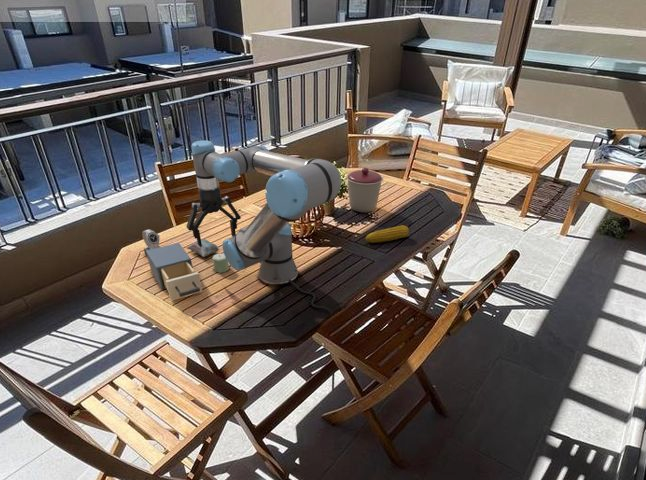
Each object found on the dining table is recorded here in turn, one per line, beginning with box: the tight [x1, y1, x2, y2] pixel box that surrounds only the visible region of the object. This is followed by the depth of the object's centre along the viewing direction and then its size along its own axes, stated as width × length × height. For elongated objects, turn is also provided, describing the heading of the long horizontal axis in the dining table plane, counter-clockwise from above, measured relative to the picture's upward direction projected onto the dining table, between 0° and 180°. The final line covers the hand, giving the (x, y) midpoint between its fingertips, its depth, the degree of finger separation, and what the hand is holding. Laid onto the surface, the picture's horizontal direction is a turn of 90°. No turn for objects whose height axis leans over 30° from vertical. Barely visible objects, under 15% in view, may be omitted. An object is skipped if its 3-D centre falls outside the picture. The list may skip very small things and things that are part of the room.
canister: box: [346, 167, 384, 213], centre depth 223 cm, size 18×18×21 cm
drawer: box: [159, 262, 203, 301], centre depth 161 cm, size 20×11×8 cm, turn 33°
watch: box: [142, 228, 161, 257], centre depth 183 cm, size 6×8×11 cm
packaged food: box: [186, 238, 221, 258], centre depth 187 cm, size 9×12×5 cm
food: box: [364, 224, 410, 244], centre depth 200 cm, size 21×6×6 cm, turn 115°
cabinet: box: [146, 242, 194, 290], centre depth 170 cm, size 15×13×10 cm
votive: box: [212, 253, 230, 274], centre depth 176 cm, size 6×6×6 cm
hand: (217, 241), depth 171 cm, fingers open, 13 cm apart
